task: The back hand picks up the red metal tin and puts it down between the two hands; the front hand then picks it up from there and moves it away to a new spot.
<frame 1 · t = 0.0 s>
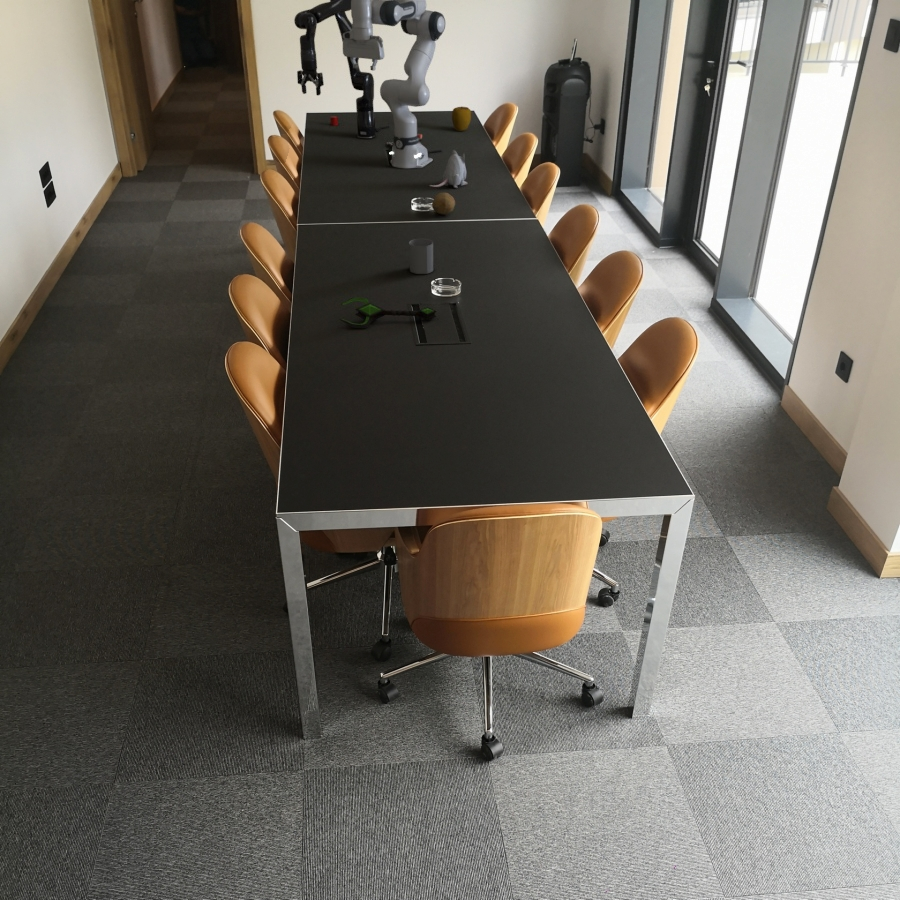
front hand: (364, 69, 380), 48 cm above the table, tool pointing down, fingers open, 8 cm apart
back hand: (311, 94, 429), 29 cm above the table, tool pointing down, fingers open, 8 cm apart
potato: (443, 213, 363), on the table
toy: (447, 188, 394), on the table
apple: (461, 130, 491), on the table
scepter: (388, 320, 272), on the table
tin: (334, 124, 503), on the table
cup: (421, 270, 308), on the table
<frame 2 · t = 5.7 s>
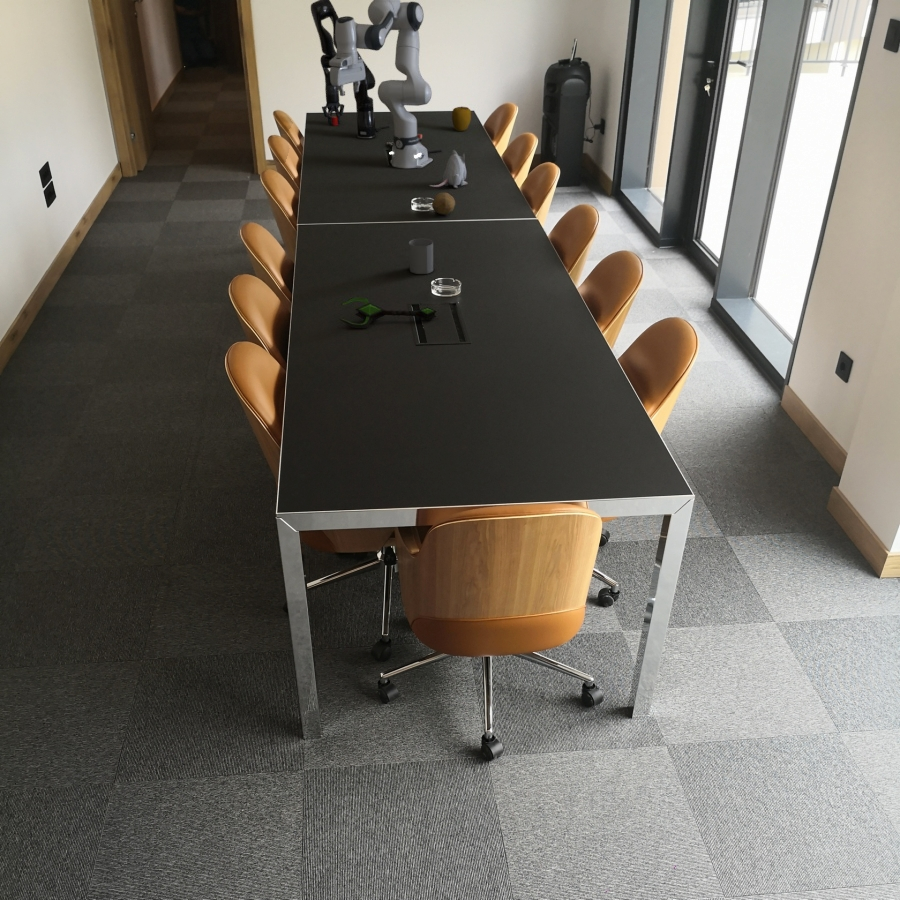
front hand: (349, 93, 377), 39 cm above the table, tool pointing down, fingers open, 8 cm apart
back hand: (334, 123, 503), 0 cm above the table, tool pointing down, fingers closed on tin, 4 cm apart
tin: (334, 124, 503), on the table, touching back hand
everything else where it was.
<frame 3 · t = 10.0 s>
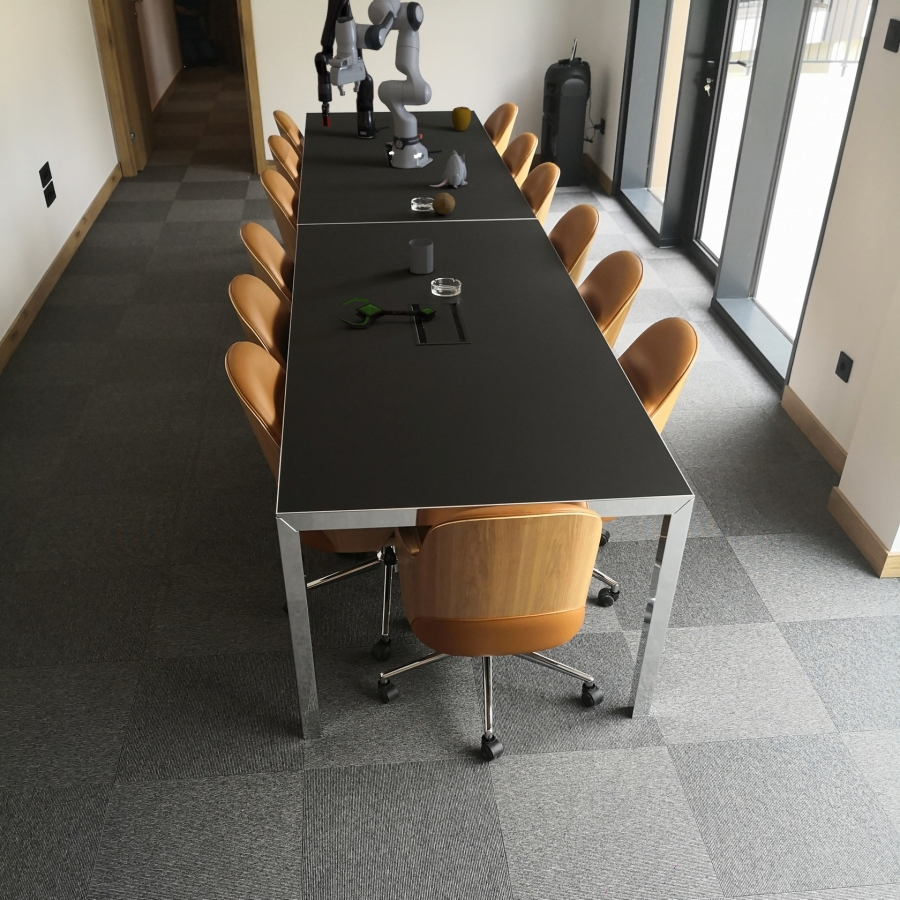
front hand: (349, 93, 377), 39 cm above the table, tool pointing down, fingers open, 8 cm apart
back hand: (326, 124, 474), 6 cm above the table, tool pointing down, fingers closed on tin, 4 cm apart
tin: (326, 125, 475), point 6 cm above the table, touching back hand
everything else where it was.
when the back hand's fingers open (2 cm above the table, at t = 14.4 s): tin drops 1 cm, on the table.
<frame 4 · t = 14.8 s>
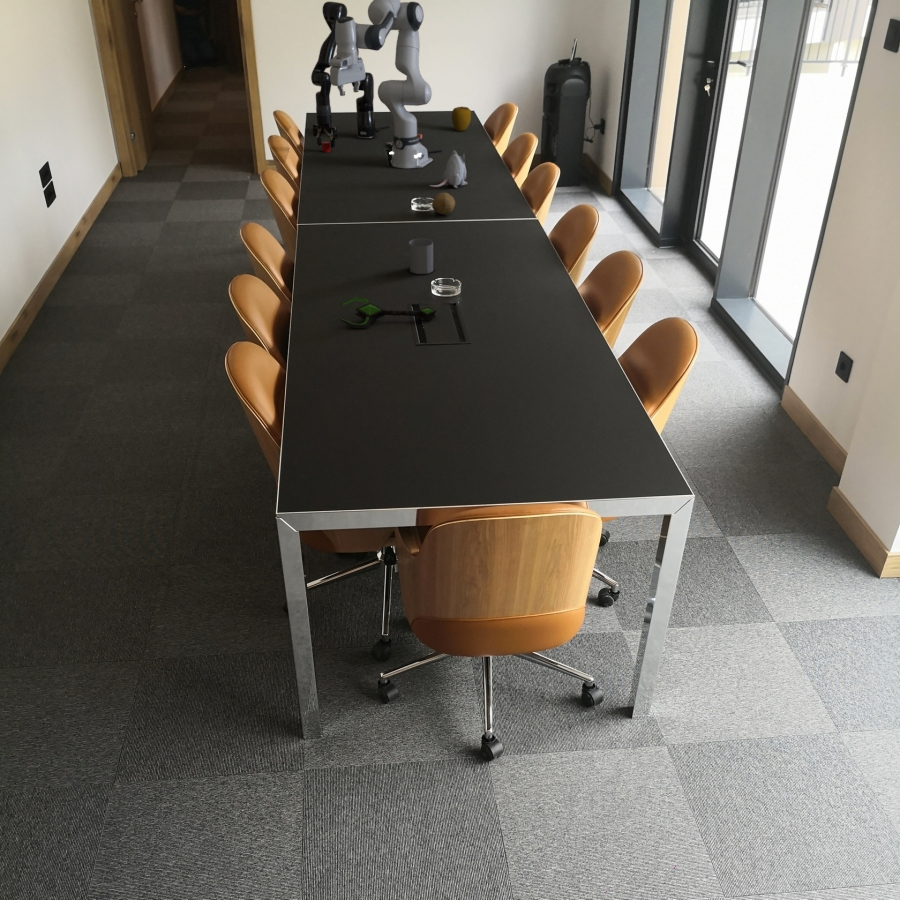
front hand: (349, 93, 377), 39 cm above the table, tool pointing down, fingers open, 8 cm apart
back hand: (326, 146, 450), 2 cm above the table, tool pointing down, fingers open, 8 cm apart
tin: (326, 151, 451), on the table
everything else where it was.
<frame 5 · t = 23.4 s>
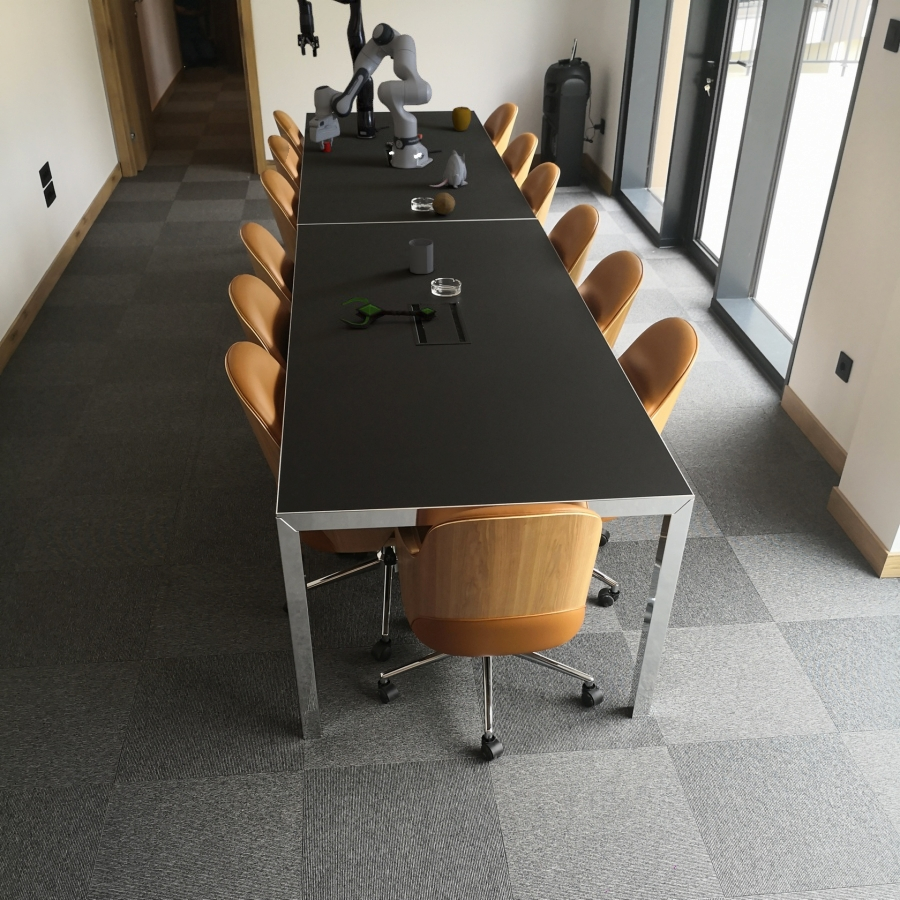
front hand: (326, 147, 450), 2 cm above the table, tool pointing down, fingers closed on tin, 4 cm apart
back hand: (309, 56, 472), 38 cm above the table, tool pointing down, fingers open, 8 cm apart
tin: (326, 151, 451), on the table, touching front hand
everything else where it was.
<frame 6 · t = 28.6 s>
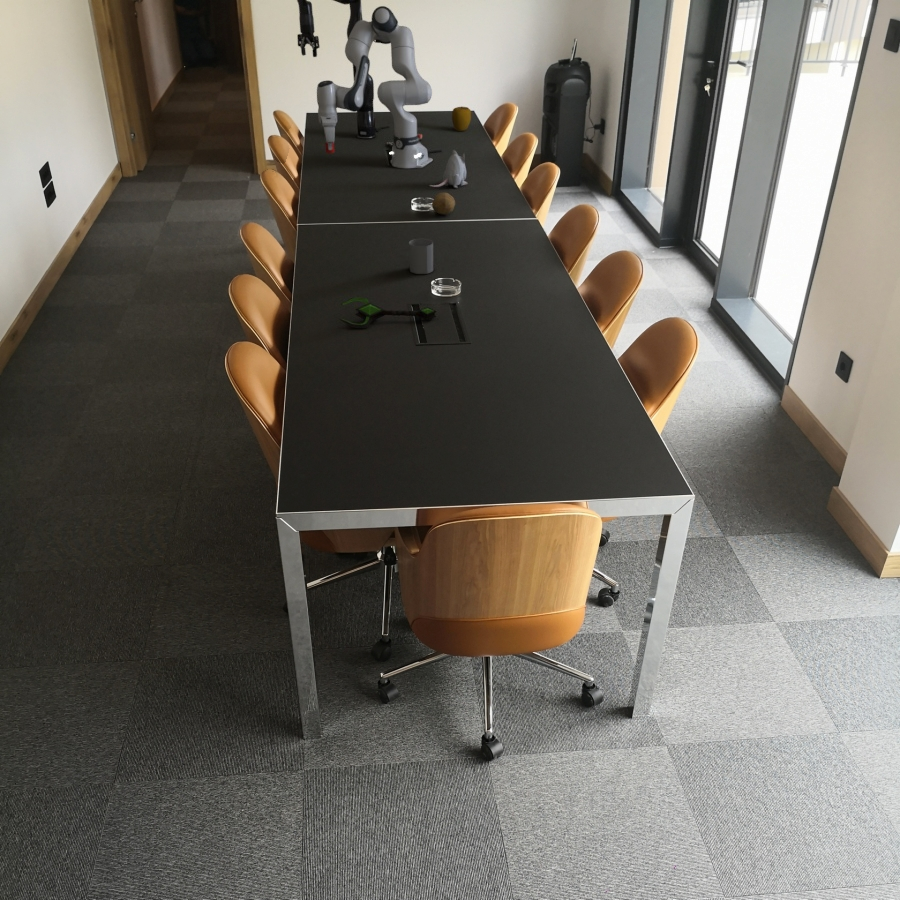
front hand: (330, 148, 417), 10 cm above the table, tool pointing down, fingers closed on tin, 4 cm apart
back hand: (309, 56, 472), 38 cm above the table, tool pointing down, fingers open, 8 cm apart
tin: (330, 152, 418), point 8 cm above the table, touching front hand
everything else where it was.
when the front hand's fingers open (3 cm above the table, at t = 34.0 s): tin drops 1 cm, on the table.
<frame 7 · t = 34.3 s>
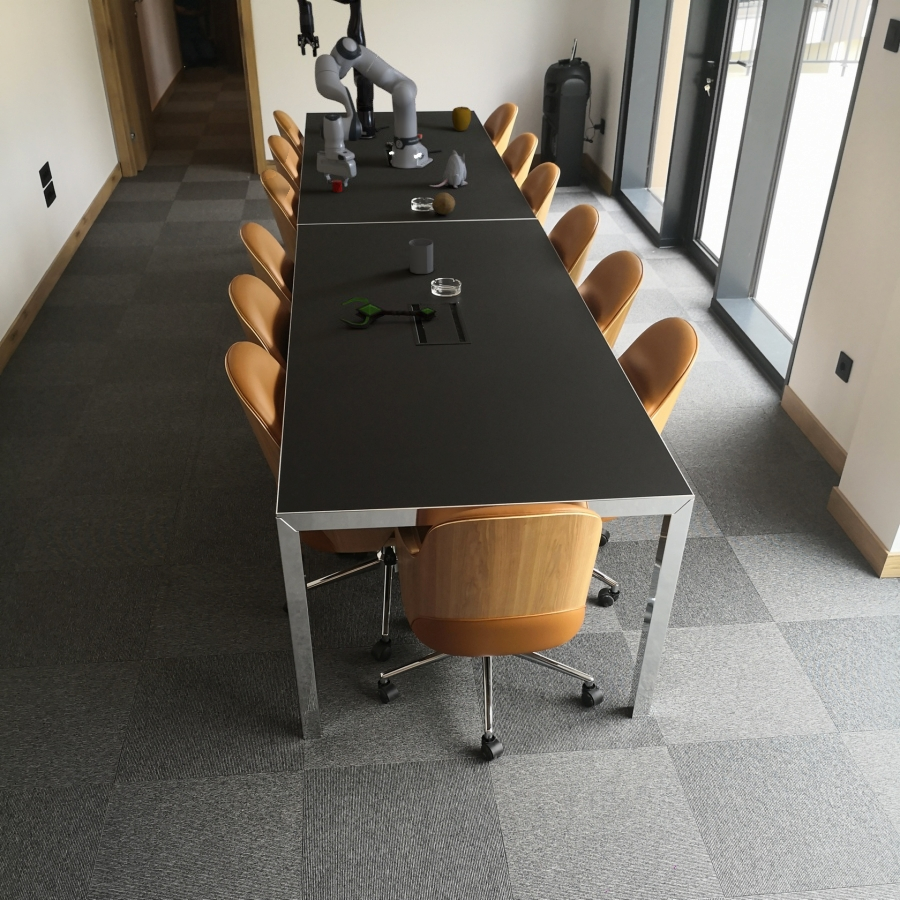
front hand: (337, 184, 389), 3 cm above the table, tool pointing down, fingers open, 7 cm apart
back hand: (309, 56, 472), 38 cm above the table, tool pointing down, fingers open, 8 cm apart
tin: (337, 191, 391), on the table
everything else where it was.
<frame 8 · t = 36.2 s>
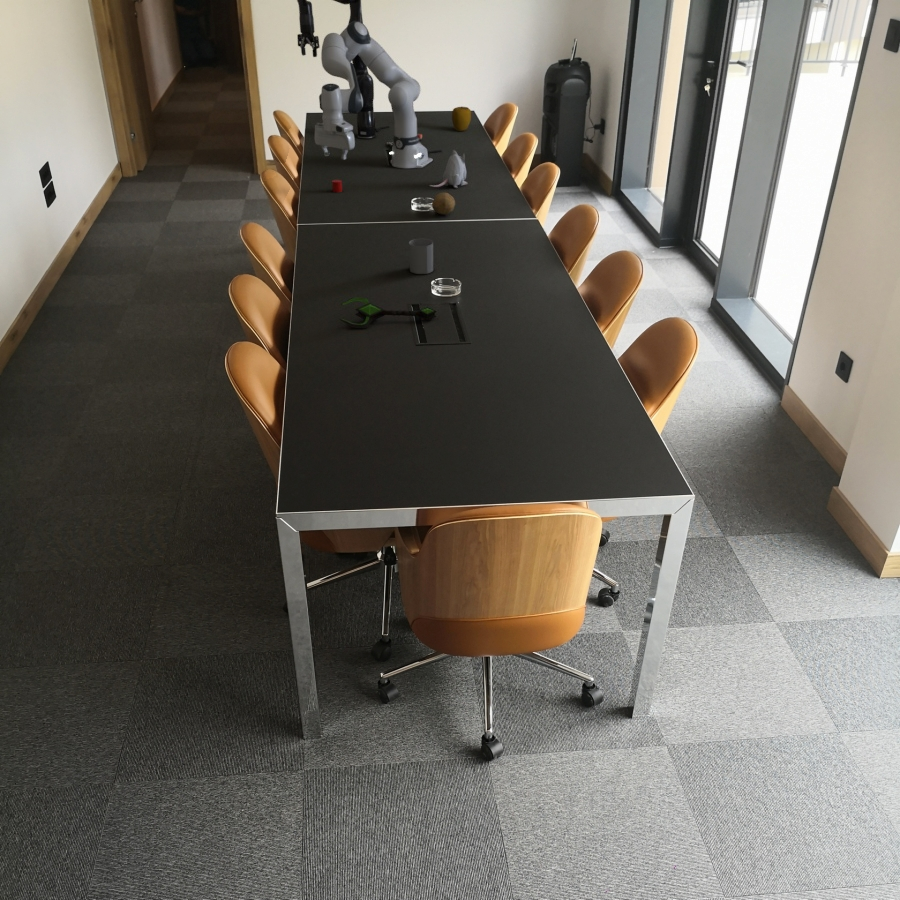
front hand: (335, 157, 383), 15 cm above the table, tool pointing down, fingers open, 8 cm apart
back hand: (309, 56, 472), 38 cm above the table, tool pointing down, fingers open, 8 cm apart
nothing on the table moved.
at the end: tin inside the target area (0.1 cm from its centre), on the table; tin tilted 0°; the two hands never held the tin at the same time; the front hand is holding nothing; the back hand is holding nothing; tin at rest at the end (0.0 cm/s) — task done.
